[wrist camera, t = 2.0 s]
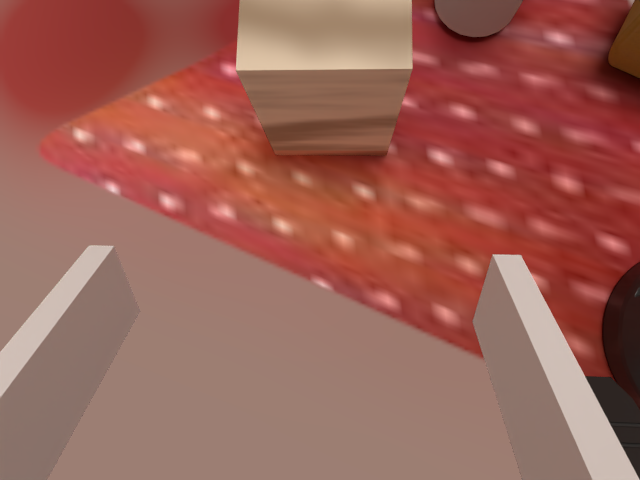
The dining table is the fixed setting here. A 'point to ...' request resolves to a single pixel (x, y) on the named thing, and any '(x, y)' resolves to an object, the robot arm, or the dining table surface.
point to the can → (476, 15)
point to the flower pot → (628, 44)
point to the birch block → (326, 72)
